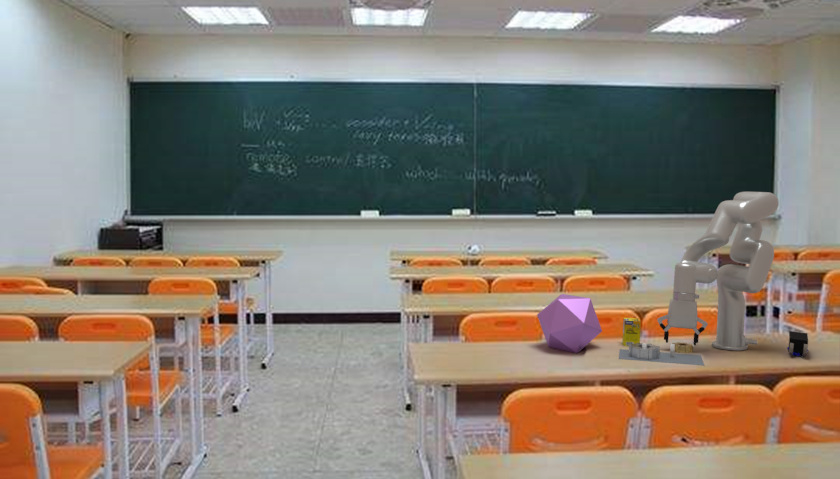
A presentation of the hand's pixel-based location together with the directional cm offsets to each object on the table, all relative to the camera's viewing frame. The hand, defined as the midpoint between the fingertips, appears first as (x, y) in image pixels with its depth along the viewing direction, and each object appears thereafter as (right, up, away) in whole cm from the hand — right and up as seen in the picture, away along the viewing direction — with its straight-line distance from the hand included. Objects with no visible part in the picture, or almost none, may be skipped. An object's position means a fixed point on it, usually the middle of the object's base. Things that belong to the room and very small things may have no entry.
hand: (680, 343), depth 265 cm
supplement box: (-15, -3, +10) cm, 18 cm away
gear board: (-10, -5, -9) cm, 15 cm away
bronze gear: (+1, -4, +1) cm, 4 cm away
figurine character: (+43, -5, +1) cm, 44 cm away
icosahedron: (-39, -3, +8) cm, 40 cm away
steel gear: (-16, -3, -8) cm, 18 cm away
